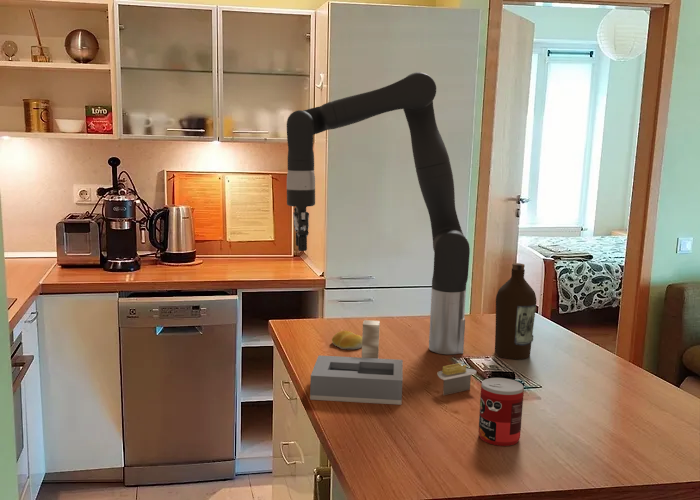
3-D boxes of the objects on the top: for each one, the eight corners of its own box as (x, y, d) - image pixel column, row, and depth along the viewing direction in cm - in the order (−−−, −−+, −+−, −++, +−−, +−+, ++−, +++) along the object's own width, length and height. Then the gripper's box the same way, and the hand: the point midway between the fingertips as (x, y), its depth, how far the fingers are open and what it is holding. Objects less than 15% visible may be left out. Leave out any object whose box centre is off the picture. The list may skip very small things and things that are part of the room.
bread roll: (348, 352, 183) (348, 338, 182) (327, 344, 189) (327, 330, 189) (370, 347, 188) (371, 333, 187) (349, 339, 195) (350, 325, 194)
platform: (407, 390, 157) (408, 363, 156) (466, 378, 166) (468, 352, 165) (440, 408, 147) (441, 379, 145) (501, 394, 156) (503, 367, 155)
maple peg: (382, 365, 172) (383, 320, 170) (381, 373, 166) (383, 326, 164) (358, 364, 173) (359, 318, 171) (356, 372, 167) (358, 325, 165)
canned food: (473, 429, 135) (476, 377, 134) (512, 429, 136) (516, 377, 134) (484, 447, 128) (487, 391, 126) (525, 446, 129) (529, 391, 127)
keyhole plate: (401, 382, 161) (402, 359, 160) (401, 404, 147) (402, 380, 146) (318, 377, 162) (318, 355, 161) (310, 399, 149) (310, 375, 148)
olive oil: (484, 351, 186) (489, 262, 182) (511, 346, 192) (517, 259, 188) (513, 363, 177) (519, 269, 173) (540, 356, 183) (547, 266, 179)
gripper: (318, 189, 173) (318, 252, 175) (312, 185, 186) (312, 244, 189) (288, 189, 171) (288, 252, 174) (285, 185, 185) (285, 244, 188)
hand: (301, 248), depth 182 cm, fingers open, 8 cm apart
